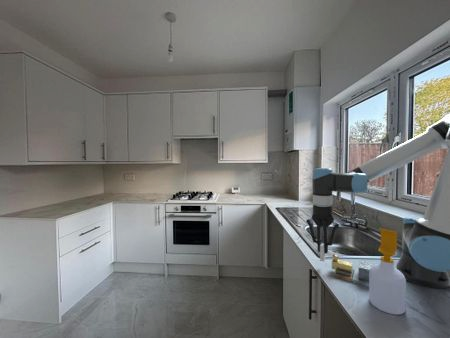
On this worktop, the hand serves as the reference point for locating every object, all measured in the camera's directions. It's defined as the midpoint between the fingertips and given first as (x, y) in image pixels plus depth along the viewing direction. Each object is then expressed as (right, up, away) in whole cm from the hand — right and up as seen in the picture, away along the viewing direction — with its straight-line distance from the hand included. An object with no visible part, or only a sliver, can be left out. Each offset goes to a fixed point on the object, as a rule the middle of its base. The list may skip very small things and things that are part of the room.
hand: (322, 259), depth 89 cm
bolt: (+6, -2, -4) cm, 7 cm away
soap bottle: (+10, -5, -23) cm, 25 cm away
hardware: (+10, -3, -7) cm, 12 cm away
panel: (+10, -4, -7) cm, 13 cm away
